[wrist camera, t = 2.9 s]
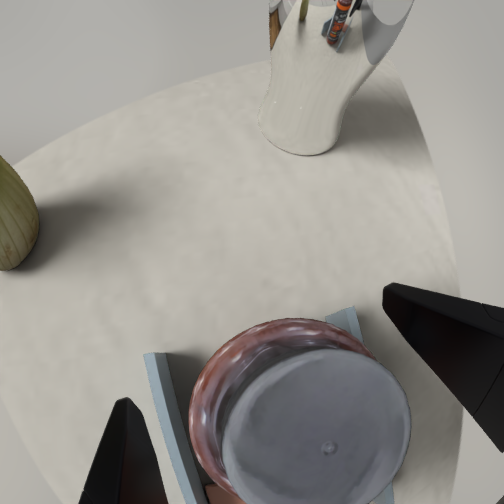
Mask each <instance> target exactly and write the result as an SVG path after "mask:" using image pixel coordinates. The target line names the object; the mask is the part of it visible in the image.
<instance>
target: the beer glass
mask: <svg viewBox="0 0 504 504" xmlns="http://www.w3.org/2000/svg"><path fill="white" fill-rule="evenodd" d="M413 2H414V0H270V3H269V35H270V54H271V77H270V83H269V87H268V90H267V93H266V95H265V97H264V99H263V102H262V104H261V106H260V109H259V112H258V124H259V127H260V130H261V132H262V133H263V135H264V136H265V137H266V138H267V139H268V140H269V141H270V142H271V143H272V144H274V145H275V146H277V147H278V148H280V149H282V150H284V151H287V152H290V153H293V154H298V155H317V154H321V153H323V152H326V151H327V150H329V149H330V148H331V147H332V146H333V145H334V144H335V143H336V141H337V139H338V137H339V134H340V129H341V125H342V120H343V116H344V112H345V110H346V108H347V106H348V104H349V102H350V101H351V99H352V98H353V96H354V95H355V94H356V92H357V91H358V90H359V88H360V87H361V86H362V85H363V84H364V82H365V81H366V80H367V79H368V77H369V76H370V75H371V74H372V72H373V71H374V70H375V69H376V67H377V66H378V65H379V64H380V63H381V61H382V60H383V58H384V57H385V56H386V54H387V53H388V51H389V50H390V48H391V47H392V46H393V44H394V42H395V40H396V39H397V37H398V35H399V33H400V31H401V29H402V28H403V25H404V23H405V21H406V19H407V17H408V14H409V12H410V10H411V7H412V5H413Z"/></svg>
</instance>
